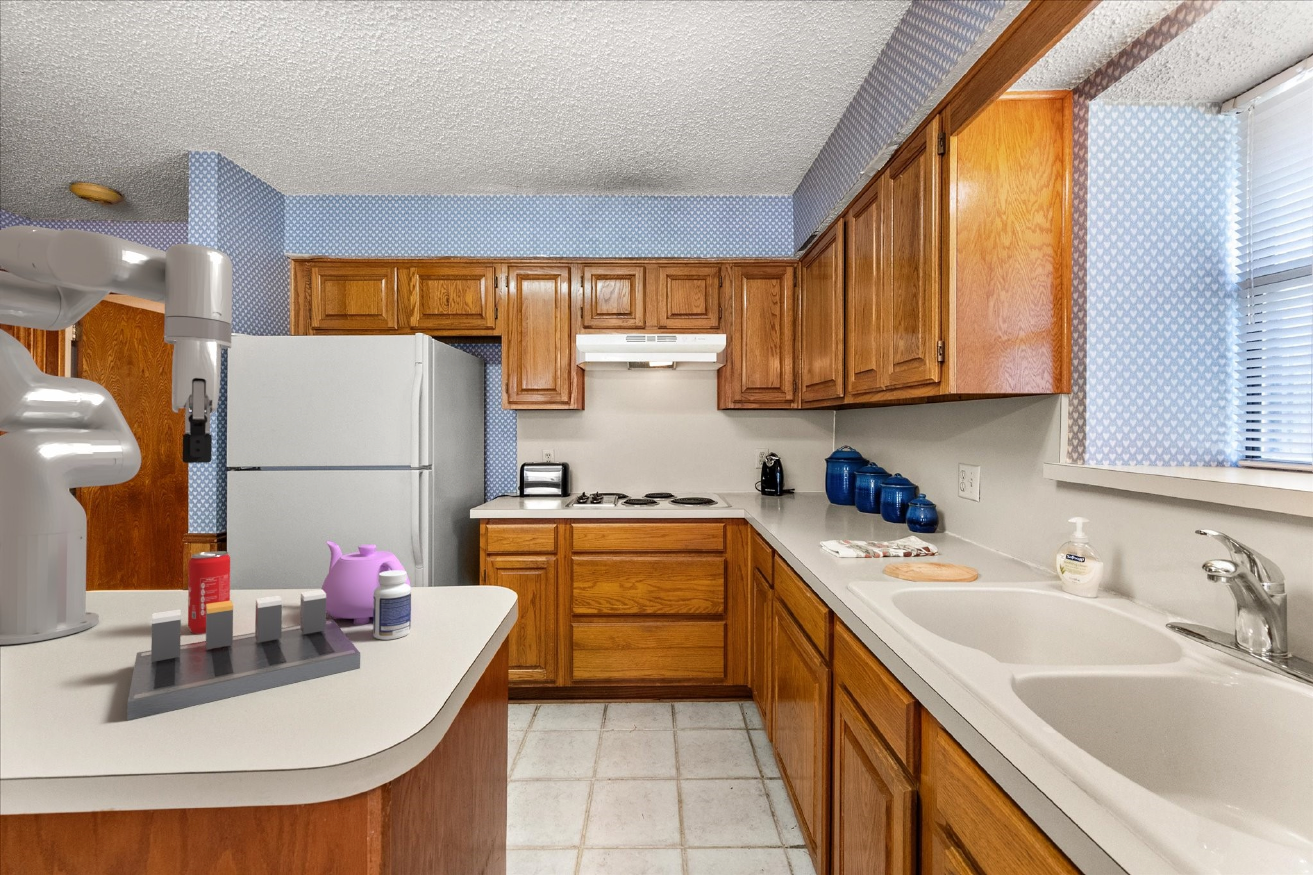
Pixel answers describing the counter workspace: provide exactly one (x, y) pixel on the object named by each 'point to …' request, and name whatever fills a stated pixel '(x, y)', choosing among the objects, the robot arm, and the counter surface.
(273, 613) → the breaker
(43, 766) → the counter surface
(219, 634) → the tripped breaker
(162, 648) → the block
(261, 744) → the counter surface
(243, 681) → the panel
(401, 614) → the pill bottle
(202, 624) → the beverage can
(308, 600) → the breaker
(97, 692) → the counter surface
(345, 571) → the teapot
